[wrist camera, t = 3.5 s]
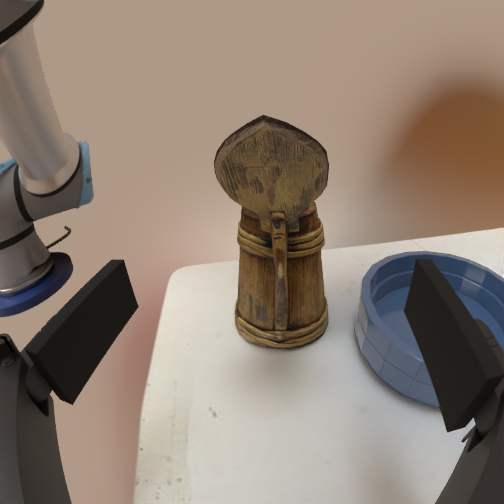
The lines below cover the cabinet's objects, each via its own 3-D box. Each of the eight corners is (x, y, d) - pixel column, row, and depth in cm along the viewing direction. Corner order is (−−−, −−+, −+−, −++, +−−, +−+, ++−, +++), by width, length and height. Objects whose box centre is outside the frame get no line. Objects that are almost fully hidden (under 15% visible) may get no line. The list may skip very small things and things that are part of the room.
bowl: (314, 335, 24) (317, 294, 22) (411, 270, 32) (417, 238, 30) (472, 450, 11) (506, 415, 9) (524, 327, 19) (540, 293, 17)
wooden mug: (215, 389, 20) (164, 126, 12) (242, 291, 32) (225, 120, 24) (335, 392, 18) (365, 115, 10) (323, 291, 30) (325, 116, 22)
